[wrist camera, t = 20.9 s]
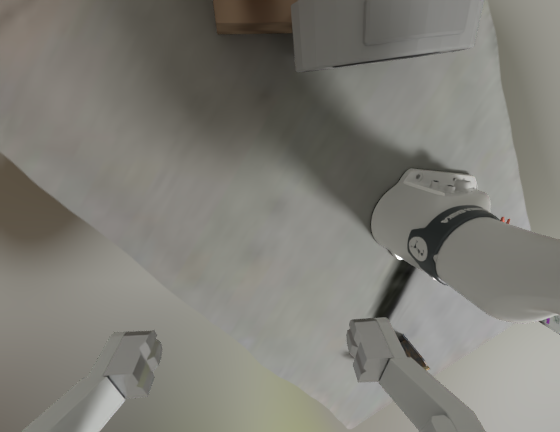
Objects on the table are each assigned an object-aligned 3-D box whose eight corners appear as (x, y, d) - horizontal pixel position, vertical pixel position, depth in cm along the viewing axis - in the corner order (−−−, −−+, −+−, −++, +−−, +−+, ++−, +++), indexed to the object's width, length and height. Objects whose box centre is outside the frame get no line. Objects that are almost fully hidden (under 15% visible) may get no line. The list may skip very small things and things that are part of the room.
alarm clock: (283, 75, 34) (314, 67, 23) (277, 20, 31) (310, -19, 20) (427, 56, 37) (516, 41, 26) (435, 4, 34) (538, -37, 23)
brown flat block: (401, 331, 61) (431, 367, 52) (405, 338, 62) (434, 374, 53) (363, 355, 62) (386, 395, 53) (368, 361, 63) (391, 401, 54)
